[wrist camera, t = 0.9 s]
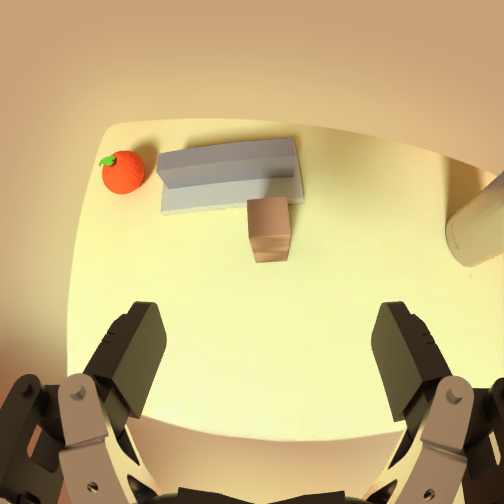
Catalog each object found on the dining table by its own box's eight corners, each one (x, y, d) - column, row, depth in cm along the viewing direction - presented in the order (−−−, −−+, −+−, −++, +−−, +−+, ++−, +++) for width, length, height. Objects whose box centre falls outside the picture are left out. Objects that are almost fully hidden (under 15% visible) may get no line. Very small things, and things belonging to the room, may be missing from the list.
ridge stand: (294, 147, 40) (296, 119, 34) (302, 203, 37) (307, 179, 31) (169, 160, 42) (155, 136, 35) (164, 215, 39) (146, 195, 32)
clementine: (104, 197, 41) (82, 177, 34) (121, 163, 43) (102, 140, 36) (140, 204, 40) (119, 182, 33) (157, 167, 41) (140, 141, 35)
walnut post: (284, 231, 36) (286, 196, 27) (286, 260, 35) (291, 234, 26) (254, 233, 37) (246, 199, 27) (256, 263, 36) (248, 237, 26)
